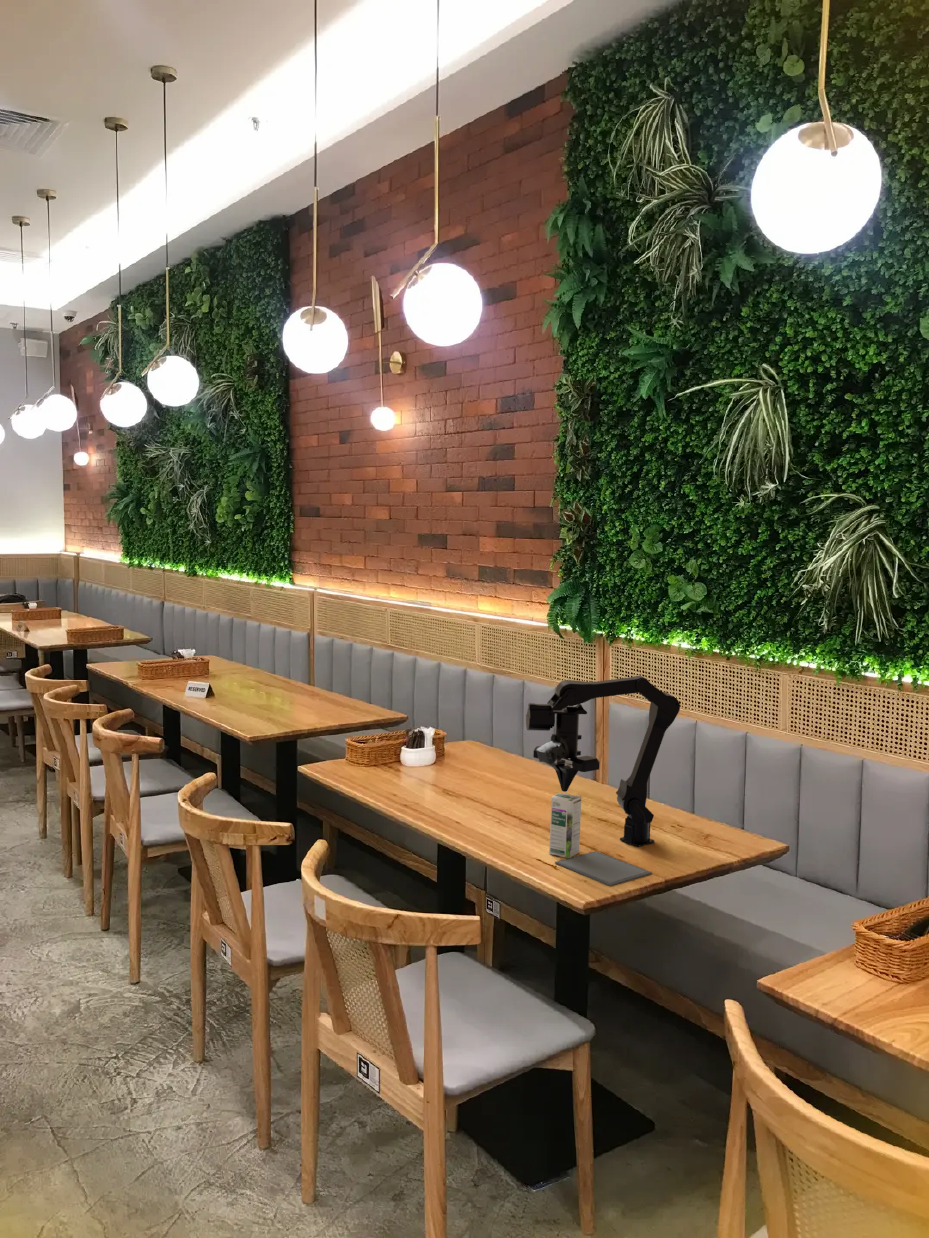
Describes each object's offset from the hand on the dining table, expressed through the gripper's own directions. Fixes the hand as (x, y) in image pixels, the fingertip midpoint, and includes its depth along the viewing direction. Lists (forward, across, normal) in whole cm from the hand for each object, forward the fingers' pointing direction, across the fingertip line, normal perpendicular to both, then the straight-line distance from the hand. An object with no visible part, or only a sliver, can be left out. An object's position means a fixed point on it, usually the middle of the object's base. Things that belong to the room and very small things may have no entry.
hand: (564, 791), depth 243 cm
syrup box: (+14, +7, -6) cm, 16 cm away
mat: (+13, +20, -6) cm, 24 cm away
